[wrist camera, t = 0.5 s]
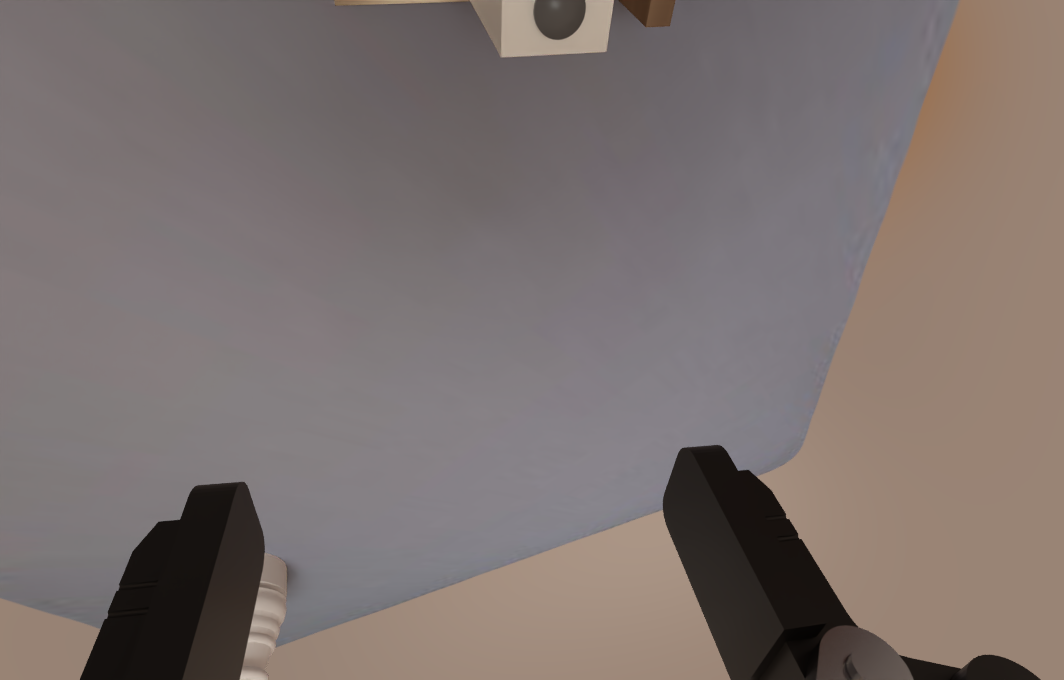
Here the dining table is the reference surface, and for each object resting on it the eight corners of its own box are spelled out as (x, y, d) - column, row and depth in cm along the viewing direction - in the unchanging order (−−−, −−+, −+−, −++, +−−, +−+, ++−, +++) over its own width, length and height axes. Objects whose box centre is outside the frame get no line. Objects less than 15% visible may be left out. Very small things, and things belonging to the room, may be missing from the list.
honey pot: (135, 571, 59) (97, 783, 48) (265, 539, 62) (258, 734, 50) (190, 609, 69) (169, 792, 58) (300, 580, 71) (302, 751, 60)
